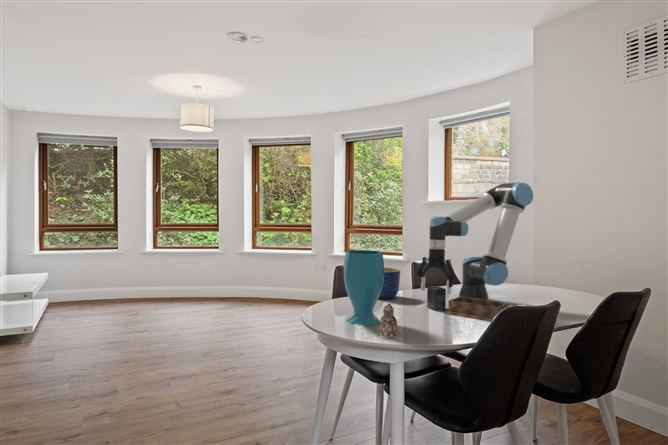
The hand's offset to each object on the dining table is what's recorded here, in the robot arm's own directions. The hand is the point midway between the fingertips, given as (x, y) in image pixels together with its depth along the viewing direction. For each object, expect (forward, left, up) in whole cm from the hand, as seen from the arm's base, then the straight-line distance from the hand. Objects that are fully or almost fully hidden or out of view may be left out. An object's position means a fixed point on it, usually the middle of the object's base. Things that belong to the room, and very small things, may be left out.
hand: (435, 292), depth 218 cm
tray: (+20, +2, -8) cm, 22 cm away
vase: (-13, -42, -9) cm, 44 cm away
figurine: (+7, -53, -9) cm, 54 cm away
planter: (-34, +6, -9) cm, 35 cm away
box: (0, 0, -9) cm, 9 cm away
